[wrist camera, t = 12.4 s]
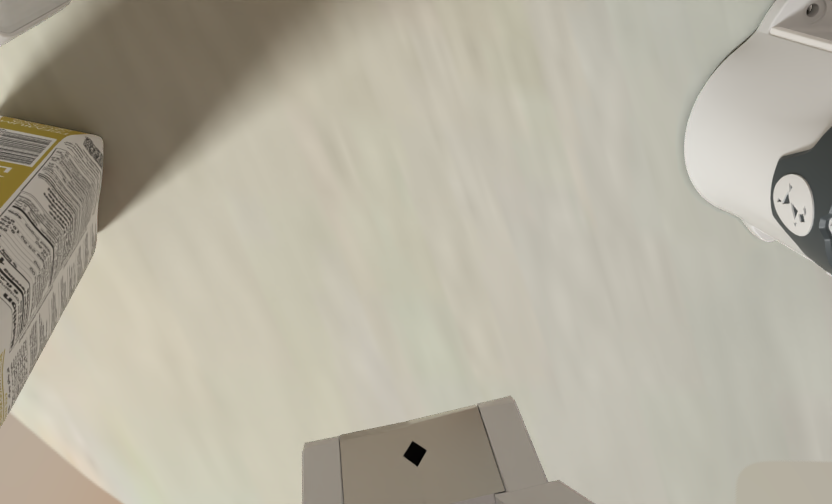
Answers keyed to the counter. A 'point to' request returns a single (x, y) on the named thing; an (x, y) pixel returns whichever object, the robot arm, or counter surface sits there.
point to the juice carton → (41, 237)
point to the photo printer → (25, 15)
